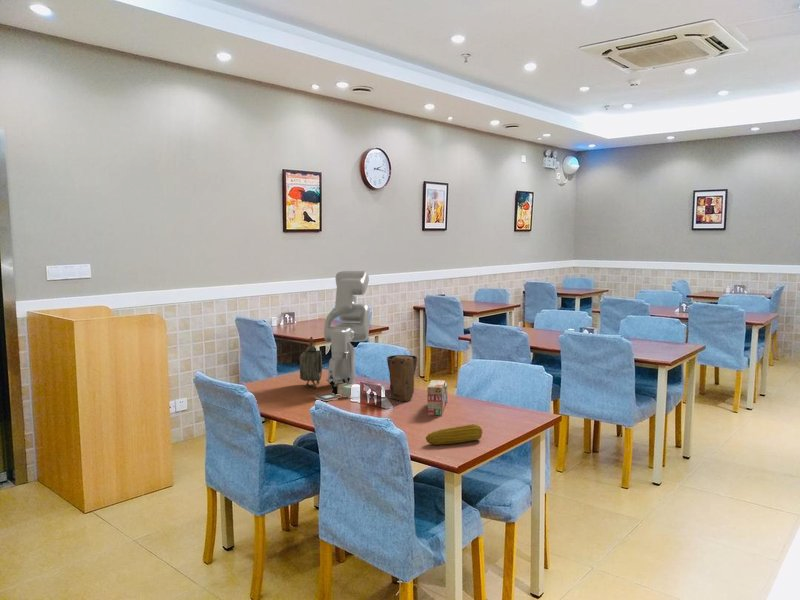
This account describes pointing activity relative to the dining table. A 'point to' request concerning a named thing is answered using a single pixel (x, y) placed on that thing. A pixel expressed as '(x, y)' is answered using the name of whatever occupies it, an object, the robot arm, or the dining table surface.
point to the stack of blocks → (436, 397)
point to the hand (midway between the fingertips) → (339, 392)
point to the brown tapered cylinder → (402, 378)
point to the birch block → (340, 387)
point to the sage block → (347, 390)
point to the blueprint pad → (327, 396)
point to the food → (455, 435)
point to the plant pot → (405, 355)
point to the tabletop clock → (311, 365)
